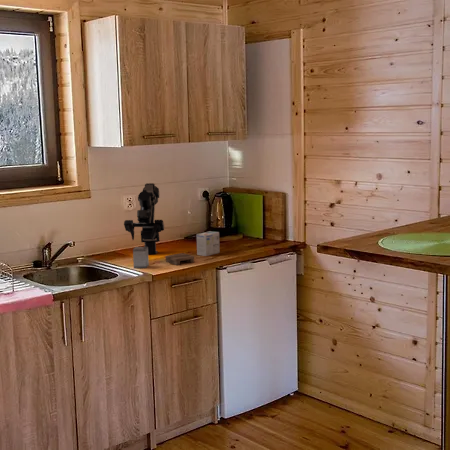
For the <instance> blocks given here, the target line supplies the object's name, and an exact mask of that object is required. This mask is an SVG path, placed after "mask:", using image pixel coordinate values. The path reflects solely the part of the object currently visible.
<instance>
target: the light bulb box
mask: <svg viewBox="0 0 450 450" xmlns="http://www.w3.org/2000/svg"><path fill="white" fill-rule="evenodd" d="M220 252H221V251H220V231H211V230H209V231H206V232H202V233H196V255H197V256H203V257H208V256H212V255H216V254H220Z"/></svg>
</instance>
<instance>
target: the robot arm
mask: <svg viewBox="0 0 450 450" xmlns="http://www.w3.org/2000/svg"><path fill="white" fill-rule="evenodd" d="M159 199H160V188H159V187H158V186H156V184H155V183H152V182H149V183H144V187H143V188H142V190H141V191H140V193H138V195H137V200H138V201H137V202H138V203H139V206H140V209H138V210H137V213H136V217H137V222H134V219H125V220H124V221H123V226H124V229H125V231H126V232H128V233H130V234H131V239H132V241H134V239H135V228H141V230H140V239H141V241H140V242H141V243H144V247H148V255H157V254H158V250H157V245H156V243H158V242H160V232H161V233H162V232H163V231H165V223H164V220H163V219H155V213H156V212H155V211H156V210H155V209H156V204H158V202H159Z"/></svg>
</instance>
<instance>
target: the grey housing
mask: <svg viewBox="0 0 450 450" xmlns="http://www.w3.org/2000/svg"><path fill="white" fill-rule="evenodd" d="M132 257H133V258H132V259H133V269H147V268H148V267H149V266H150V265H149V263H150V262H149V261H150V260H149V254H148V247H145V246H135V247H133V249H132Z"/></svg>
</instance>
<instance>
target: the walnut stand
mask: <svg viewBox="0 0 450 450" xmlns="http://www.w3.org/2000/svg"><path fill="white" fill-rule="evenodd" d="M164 258H165V262H166V263H169V264H172V265H174V266H180V265H181V261H184V262H187V263H190V264H192V263H195V255H191V254H188V253H184V252H181V253H175V254H169V255H165V257H164Z"/></svg>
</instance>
